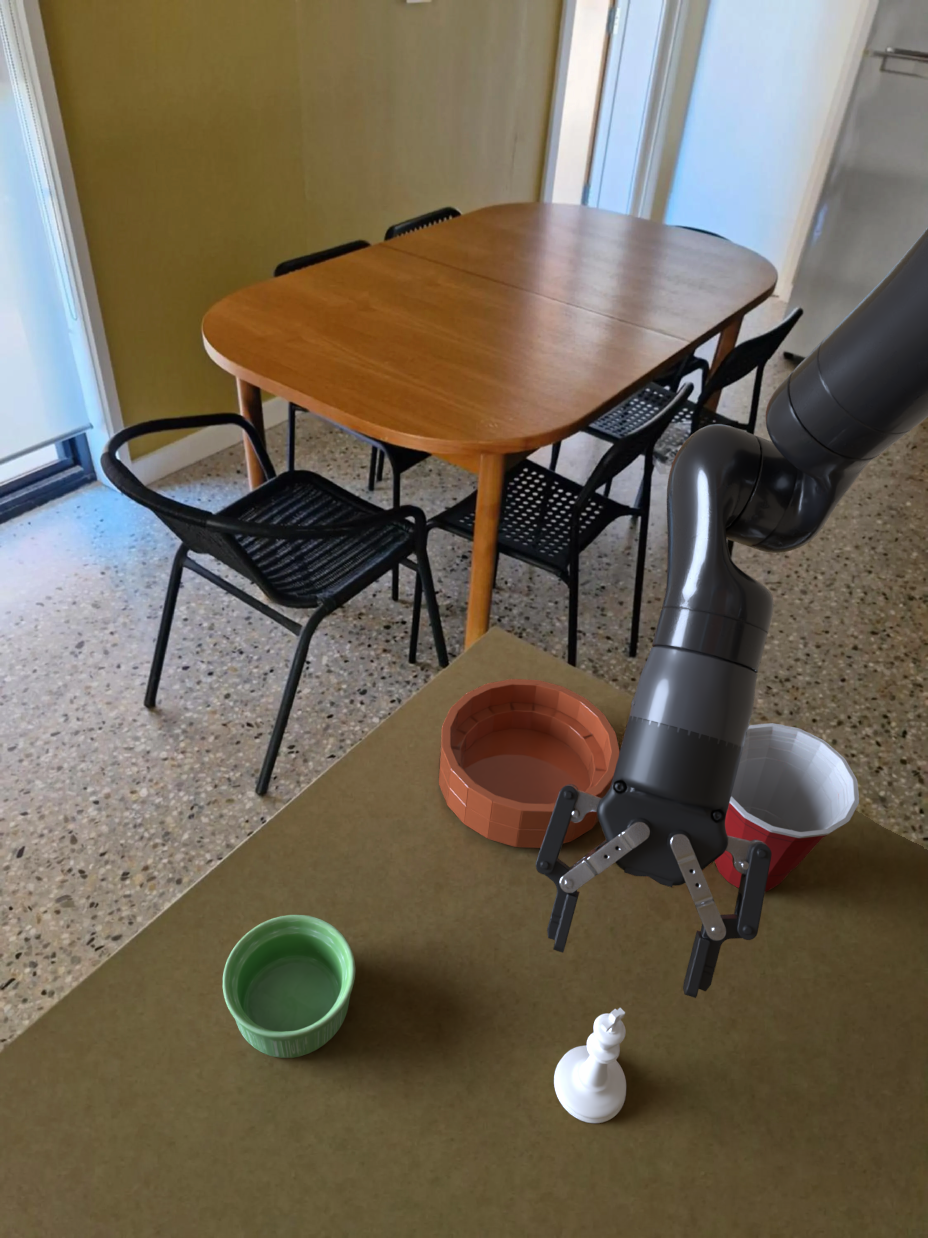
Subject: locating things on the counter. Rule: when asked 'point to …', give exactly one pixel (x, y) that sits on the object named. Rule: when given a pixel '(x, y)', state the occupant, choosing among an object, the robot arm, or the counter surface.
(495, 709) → the bowl
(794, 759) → the plastic cup
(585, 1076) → the chess piece
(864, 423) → the robot arm
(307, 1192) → the counter surface
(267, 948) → the ramekin
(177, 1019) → the counter surface
